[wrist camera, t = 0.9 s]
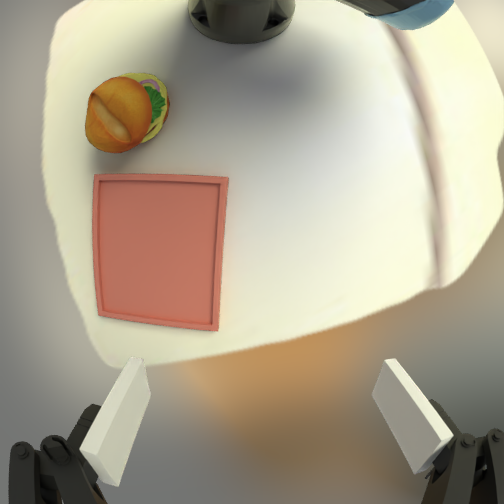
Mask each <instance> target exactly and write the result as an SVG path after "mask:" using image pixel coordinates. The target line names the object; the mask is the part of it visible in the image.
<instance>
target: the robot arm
mask: <svg viewBox="0 0 504 504" xmlns="http://www.w3.org/2000/svg"><path fill="white" fill-rule="evenodd" d="M336 1H338V2H341V3H343V4H346V5H348V6H350V7H352V8H355V9H357V10H359V11H361V12H363V13H364V14H365V15H366V16H368V17H371V18H376V19H378V20H380V21H383V22H385V23H387V24H389V25H390V26H392V27H394V28H397V29H401V30H415V29H419V28H422V27H425V26H427V25H429V24H431V23H432V22H434V21H435V20H437V19H438V18H440V17H441V16H442V15H443V14H444V13H445V12H447V10H448V9H449V8H450V7H451V6H452V4H453V3H454V0H336ZM188 11H189V15H190V18H191V21H192V23H193V25H194V26H195V28H196V29H197V30H198V31H200V32H201V33H202V34H204V35H205V36H207V37H209V38H212V39H214V40H217V41H221V42H226V43H234V44H247V43H255V42H260V41H264V40H267V39H270V38H272V37H274V36H276V35H278V34H280V33H281V32H282V31H284V30H285V29H286V28H287V27H288V25H289V24H290V22H291V20H292V17H293V14H294V11H295V0H189V2H188ZM150 397H151V393H150V389H149V385H148V380H147V375H146V370H145V364H144V359H142V358H135V357H130V358H129V360H128V362H127V363H126V365H125V367H124V368H123V370H122V372H121V374H120V375H119V377H118V379H117V380H116V382H115V384H114V386H113V387H112V389H111V391H110V393H109V394H108V396H107V398H106V400H105V402H104V403H103V405H102V406H99V405H95V404H92V405H90V406H89V407H87V408H86V409H85V410H84V412H83V413H82V415H81V417H80V419H79V420H78V422H77V425H75V427H74V429H73V430H72V432H71V434H70V436H69V437H68V439H67V441H66V440H65V439H64V438H63V437H61V436H58V435H51V436H48V437H46V438H45V439H43V441H42V442H41V445H40V446H41V447H40V450H41V451H38V450H34V448H33V447H32V446H31V445H30V444H28V443H27V442H17V443H15V445H13V446H12V449H11V453H10V464H9V504H62V500H63V502H64V504H107V502H106V500H105V498H104V496H103V494H102V492H101V490H100V488H99V486H98V484H97V483H96V481H97V478H98V477H99V478H100V479H101V481H102V482H104V483H107V484H110V485H113V486H116V487H118V486H119V483H120V480H121V477H122V474H123V471H124V468H125V465H126V462H127V459H128V457H129V454H130V451H131V448H132V445H133V442H134V440H135V437H136V434H137V432H138V429H139V426H140V423H141V421H142V418H143V415H144V413H145V410H146V407H147V405H148V402H149V399H150ZM372 397H373V398H374V400H375V402H376V404H377V406H378V407H379V409H380V411H381V413H382V414H383V416H384V418H385V420H386V422H387V424H388V425H389V427H390V429H391V431H392V433H393V435H394V437H395V438H396V440H397V442H398V444H399V446H400V447H401V449H402V451H403V453H404V455H405V457H406V459H407V461H408V463H409V465H410V466H411V469H412V470H413V472H414V474H417V473H419V472H422V471H424V470H426V469H427V468H428V467H429V466H430V465H431V464H432V463H433V464H434V468H433V469H432V470H431V471H430V472H429V473H428V474H427V475H426V477H425V479H427V478H428V477H429V476H430V479H429V482H428V485H427V488H426V491H425V494H424V497H423V500H422V503H421V504H504V433H503V432H502V431H501V430H499V429H491V430H490V431H489V432H488V434H487V435H486V436H485V437H479V438H475V437H474V436H473V435H470V434H462V433H461V432H460V431H459V429H458V428H457V427H456V425H455V424H454V423H453V421H452V420H451V419H450V417H448V415H447V413H446V412H444V409H443V408H442V407H441V406H440V404H438V403H437V402H435V401H434V400H432V399H431V400H427V399H426V397H425V396H424V395H423V393H422V392H421V391H420V389H419V388H418V387H417V386H416V384H415V383H414V382H413V380H412V379H411V378H410V377H409V375H408V374H407V373H406V372H405V370H404V369H403V368H402V366H401V365H400V364H399V363H398V361H397V360H396V359H389V360H384V363H383V365H382V368H381V371H380V374H379V377H378V379H377V382H376V385H375V388H374V390H373V393H372ZM485 465H487V469H485ZM61 497H62V498H61Z"/></svg>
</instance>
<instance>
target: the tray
mask: <svg viewBox="0 0 504 504" xmlns="http://www.w3.org/2000/svg"><path fill="white" fill-rule="evenodd" d="M228 180H229V178H228V177H217V176H199V175H175V174H94V187H93V216H92V233H93V262H94V277H95V289H96V299H97V307H98V315H99V316H105V317H110V318H116V319H122V320H128V321H135V322H141V323H148V324H155V325H163V326H171V327H180V328H189V329H198V330H209V331H218V329H219V313H220V293H221V276H222V259H223V244H224V230H225V217H226V204H227V192H228Z"/></svg>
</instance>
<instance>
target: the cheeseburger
mask: <svg viewBox="0 0 504 504" xmlns="http://www.w3.org/2000/svg"><path fill="white" fill-rule="evenodd" d="M169 105H170V103H169V98H168V94H167V90H166V87H165V85H164V84H163V83H162V82H161V81H160V80H159V79H158V78H157V77H156V76H154V75H151V74H146V73H139V74H137V73H128V74H124V75H121V76H119V77H114V78H111V79H109V80H107V81H105V82H103V83H102V84H101V85H100V86H98V87H97V88H96V89H95V90H94V91H93V92H92V93H91V95H90V97H89V101H88V108H87V115H86V123H85V131H86V137H87V139H88V141H89V142H90V143H91V144H92V145H93V146H94V147H96V148H97V149H99V150H102V151H104V152H110V153H122V152H125V151H128V150H130V149H132V148H133V147H135V146H137V145H138V144H140V143H144V142H146V141H148V140H150V139H152V138H153V137H154V136H155V135H156V134H157V133H158V132H159V131H160V130H161V129H162V125H163V123H164V122H165V120H166V118H167V116H168V110H169Z"/></svg>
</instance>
